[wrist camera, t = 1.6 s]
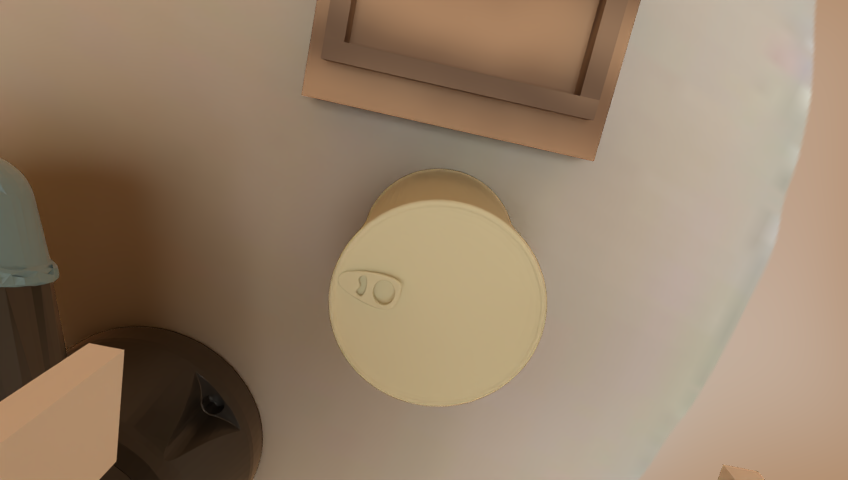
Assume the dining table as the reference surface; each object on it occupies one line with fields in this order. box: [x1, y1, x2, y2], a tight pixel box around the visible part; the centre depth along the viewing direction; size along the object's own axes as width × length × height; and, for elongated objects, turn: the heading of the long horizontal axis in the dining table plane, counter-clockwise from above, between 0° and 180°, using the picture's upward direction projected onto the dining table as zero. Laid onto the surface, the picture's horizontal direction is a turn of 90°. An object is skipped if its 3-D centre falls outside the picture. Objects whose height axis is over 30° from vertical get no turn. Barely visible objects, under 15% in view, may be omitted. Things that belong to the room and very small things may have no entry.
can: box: [328, 169, 547, 406], centre depth 28 cm, size 9×9×12 cm
